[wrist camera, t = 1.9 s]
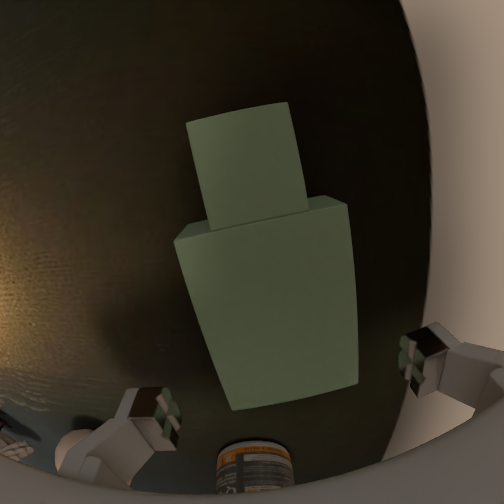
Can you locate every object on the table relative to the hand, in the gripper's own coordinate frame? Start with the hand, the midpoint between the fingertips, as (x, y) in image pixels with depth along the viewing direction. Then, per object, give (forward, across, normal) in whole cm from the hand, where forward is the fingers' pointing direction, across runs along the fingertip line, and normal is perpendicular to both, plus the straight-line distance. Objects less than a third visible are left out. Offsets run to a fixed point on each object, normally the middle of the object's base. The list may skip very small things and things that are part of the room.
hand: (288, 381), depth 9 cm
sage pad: (+6, 0, -2) cm, 6 cm away
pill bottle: (+6, +4, +14) cm, 16 cm away
